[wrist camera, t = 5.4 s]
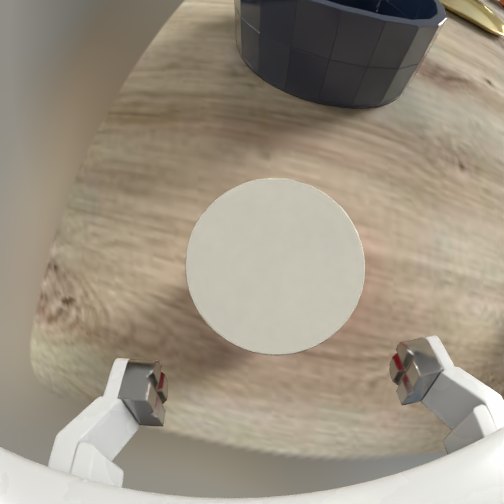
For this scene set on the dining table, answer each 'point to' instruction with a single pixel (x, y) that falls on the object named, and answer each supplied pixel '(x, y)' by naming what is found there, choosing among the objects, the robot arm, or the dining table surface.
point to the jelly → (275, 266)
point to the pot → (338, 46)
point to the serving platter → (476, 14)
